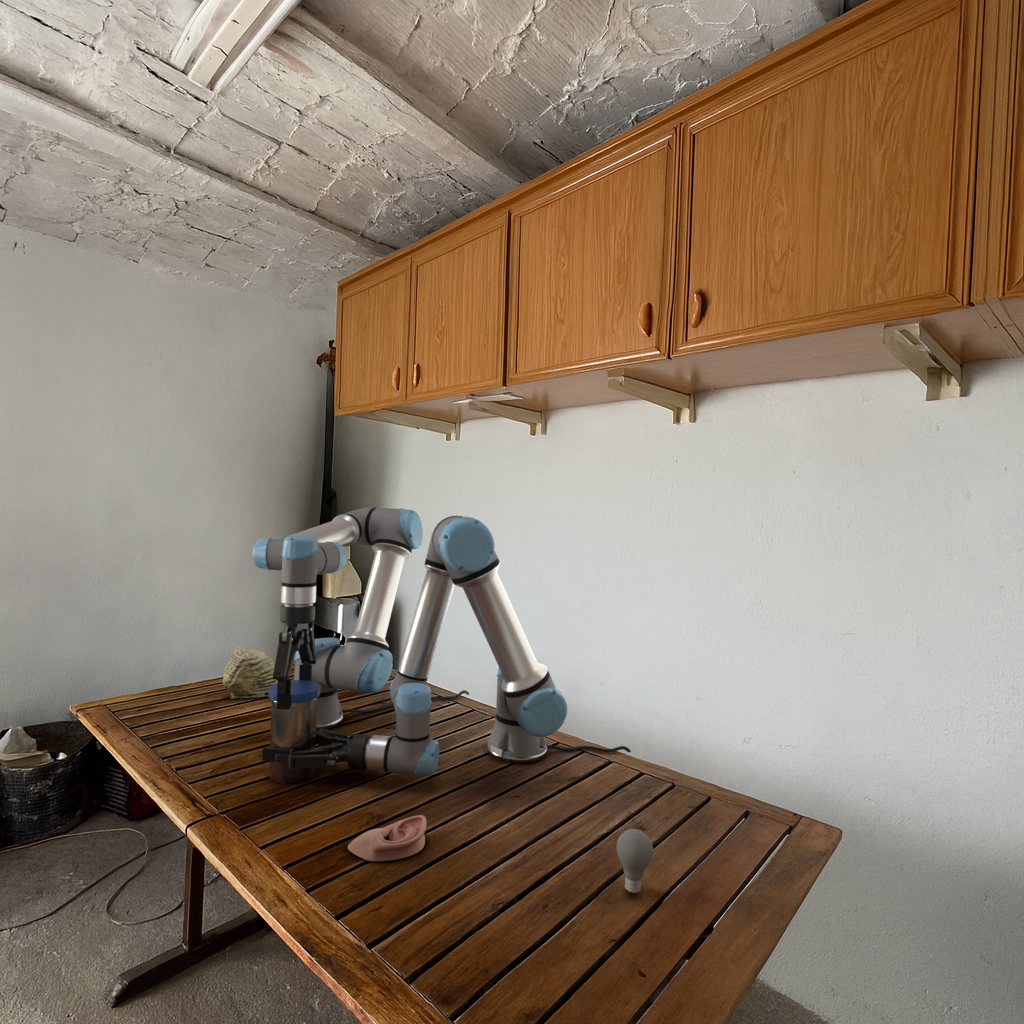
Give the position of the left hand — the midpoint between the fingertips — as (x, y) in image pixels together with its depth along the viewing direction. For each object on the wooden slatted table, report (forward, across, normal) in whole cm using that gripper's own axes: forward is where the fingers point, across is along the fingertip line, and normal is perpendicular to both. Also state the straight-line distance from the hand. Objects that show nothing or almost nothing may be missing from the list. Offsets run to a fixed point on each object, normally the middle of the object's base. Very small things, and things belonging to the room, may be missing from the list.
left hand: (294, 700), depth 144 cm
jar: (+17, 0, 0) cm, 17 cm away
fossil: (+17, -52, -34) cm, 64 cm away
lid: (-3, 0, 0) cm, 3 cm away
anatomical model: (+17, +26, +29) cm, 43 cm away
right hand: (+11, 0, -4) cm, 11 cm away
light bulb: (+17, +34, +73) cm, 82 cm away
